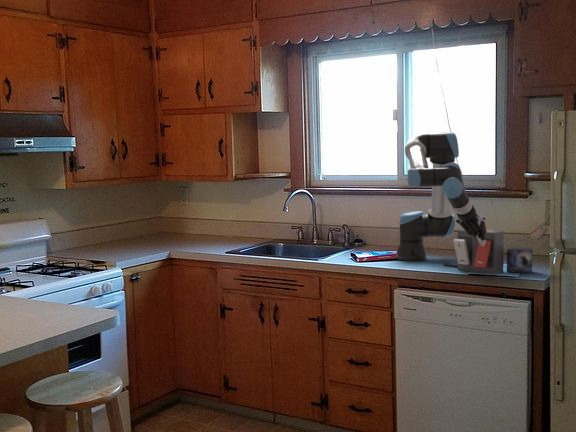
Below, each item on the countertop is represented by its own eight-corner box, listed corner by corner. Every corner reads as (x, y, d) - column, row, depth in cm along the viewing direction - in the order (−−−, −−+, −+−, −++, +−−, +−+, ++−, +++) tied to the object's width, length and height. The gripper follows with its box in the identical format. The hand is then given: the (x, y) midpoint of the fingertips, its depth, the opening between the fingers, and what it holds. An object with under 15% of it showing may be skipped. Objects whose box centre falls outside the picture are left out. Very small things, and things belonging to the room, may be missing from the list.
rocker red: (473, 266, 281) (479, 239, 284) (475, 267, 282) (480, 240, 285) (484, 267, 278) (489, 240, 280) (485, 268, 279) (491, 241, 281)
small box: (506, 272, 284) (506, 249, 283) (506, 270, 290) (507, 247, 289) (532, 274, 281) (532, 250, 279) (532, 271, 287) (532, 247, 286)
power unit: (436, 267, 300) (436, 228, 298) (447, 264, 307) (446, 226, 305) (493, 274, 281) (493, 233, 279) (503, 271, 287) (503, 230, 286)
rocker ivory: (458, 263, 291) (453, 240, 287) (460, 262, 293) (454, 238, 288) (468, 265, 288) (463, 241, 284) (470, 263, 289) (465, 239, 285)
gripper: (446, 214, 270) (467, 249, 284) (475, 216, 261) (494, 252, 275) (453, 201, 273) (473, 236, 287) (481, 202, 264) (500, 238, 278)
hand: (483, 243), depth 281 cm, fingers closed
